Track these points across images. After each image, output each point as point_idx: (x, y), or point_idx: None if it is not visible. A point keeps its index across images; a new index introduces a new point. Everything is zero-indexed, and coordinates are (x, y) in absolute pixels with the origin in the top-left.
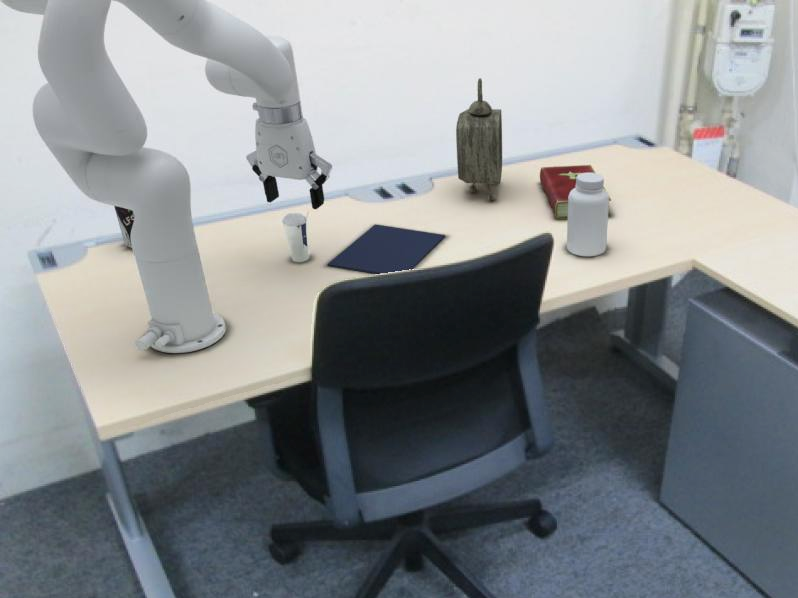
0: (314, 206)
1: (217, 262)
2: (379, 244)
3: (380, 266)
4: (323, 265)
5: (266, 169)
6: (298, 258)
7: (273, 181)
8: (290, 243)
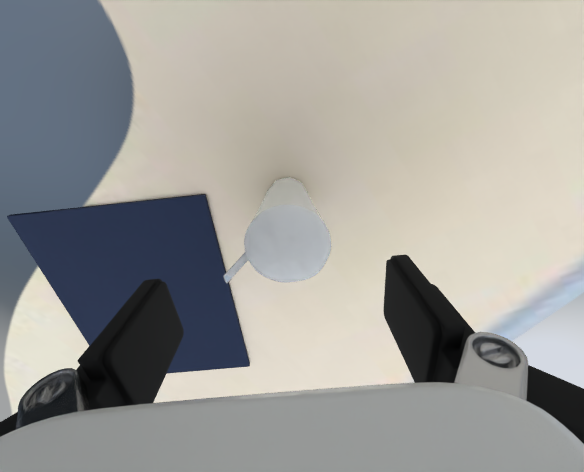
0: (141, 285)
1: (490, 78)
2: (178, 312)
3: (91, 236)
4: (216, 192)
5: (471, 455)
6: (277, 181)
7: (420, 367)
8: (292, 189)
